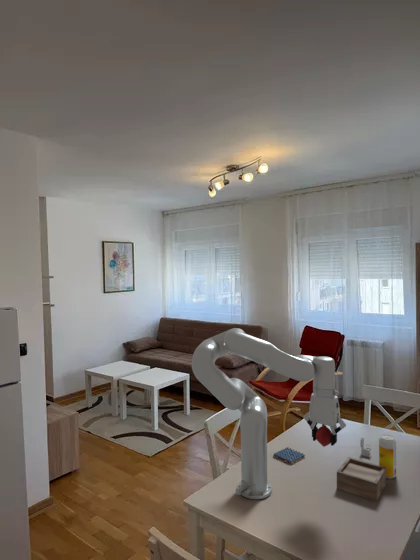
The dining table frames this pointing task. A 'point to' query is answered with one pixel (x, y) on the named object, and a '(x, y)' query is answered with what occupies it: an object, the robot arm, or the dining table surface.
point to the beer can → (388, 454)
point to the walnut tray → (361, 478)
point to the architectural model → (365, 449)
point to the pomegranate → (323, 435)
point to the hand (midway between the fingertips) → (324, 441)
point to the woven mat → (289, 456)
